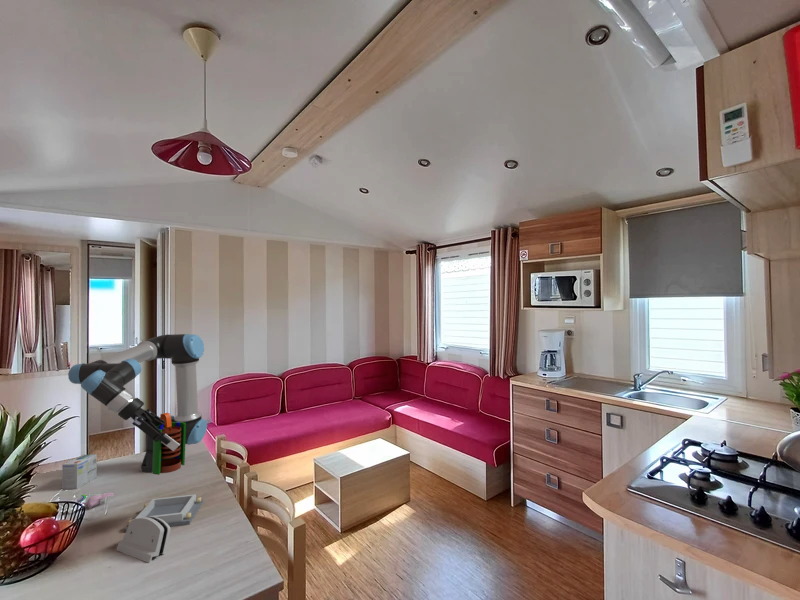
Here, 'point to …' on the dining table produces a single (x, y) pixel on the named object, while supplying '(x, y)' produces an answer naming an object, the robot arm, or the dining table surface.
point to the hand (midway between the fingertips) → (178, 444)
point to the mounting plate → (172, 509)
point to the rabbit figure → (94, 499)
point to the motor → (165, 456)
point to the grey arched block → (145, 538)
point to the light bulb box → (79, 471)
